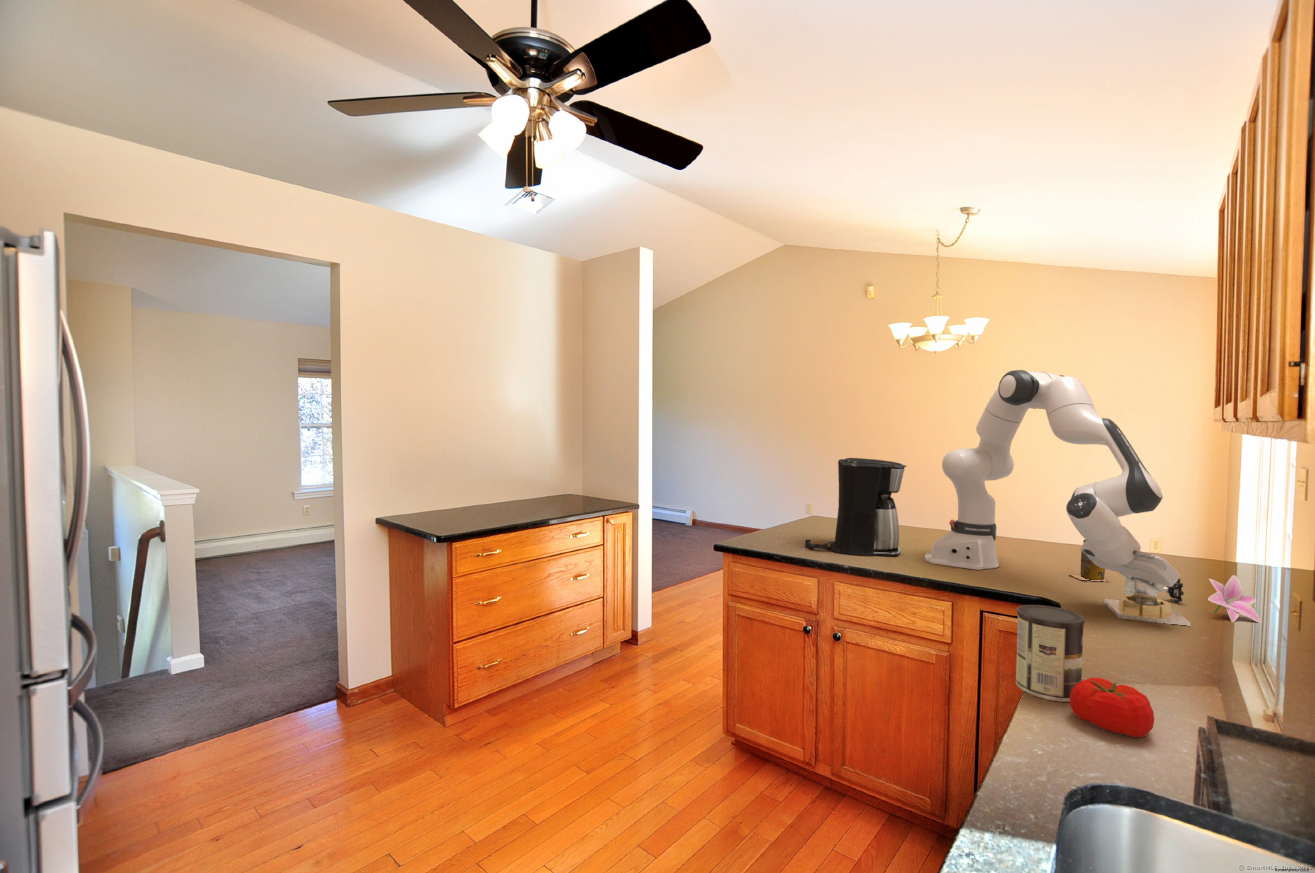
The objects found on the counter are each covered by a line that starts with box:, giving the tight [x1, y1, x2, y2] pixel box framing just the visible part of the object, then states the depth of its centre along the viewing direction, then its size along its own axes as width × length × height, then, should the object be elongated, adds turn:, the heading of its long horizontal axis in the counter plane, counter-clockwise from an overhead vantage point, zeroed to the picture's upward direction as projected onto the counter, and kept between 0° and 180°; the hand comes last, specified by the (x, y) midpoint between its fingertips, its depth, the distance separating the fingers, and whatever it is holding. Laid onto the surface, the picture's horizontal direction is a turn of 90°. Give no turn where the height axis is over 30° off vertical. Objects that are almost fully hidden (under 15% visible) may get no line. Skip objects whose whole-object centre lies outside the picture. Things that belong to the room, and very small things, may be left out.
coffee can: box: [1015, 604, 1085, 703], centre depth 110 cm, size 10×10×14 cm
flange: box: [1103, 594, 1191, 627], centre depth 154 cm, size 14×14×3 cm
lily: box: [1207, 574, 1262, 624], centre depth 152 cm, size 12×12×10 cm
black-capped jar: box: [1133, 577, 1159, 605], centre depth 153 cm, size 5×5×9 cm
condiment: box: [1067, 538, 1106, 580], centre depth 186 cm, size 7×8×12 cm
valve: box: [1124, 577, 1185, 603], centre depth 166 cm, size 7×7×12 cm
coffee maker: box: [804, 457, 907, 557], centre depth 221 cm, size 23×32×34 cm
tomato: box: [1069, 676, 1155, 738], centre depth 97 cm, size 10×11×6 cm
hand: (1147, 584), depth 153 cm, fingers closed on black-capped jar, 5 cm apart
